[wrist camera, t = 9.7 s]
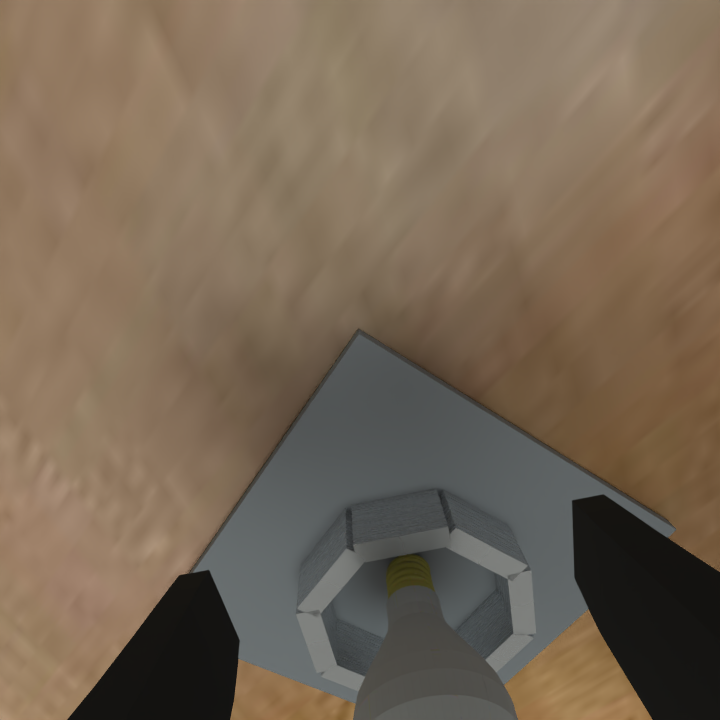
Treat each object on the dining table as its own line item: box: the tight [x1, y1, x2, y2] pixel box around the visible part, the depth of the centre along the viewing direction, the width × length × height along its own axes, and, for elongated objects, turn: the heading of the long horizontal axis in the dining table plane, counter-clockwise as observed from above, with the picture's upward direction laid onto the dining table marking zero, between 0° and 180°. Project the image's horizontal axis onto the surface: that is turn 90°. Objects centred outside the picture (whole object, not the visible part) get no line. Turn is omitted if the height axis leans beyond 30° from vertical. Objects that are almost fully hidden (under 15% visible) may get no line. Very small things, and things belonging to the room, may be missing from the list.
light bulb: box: [353, 554, 518, 720], centre depth 18 cm, size 5×5×10 cm
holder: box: [190, 329, 676, 704], centre depth 22 cm, size 18×18×3 cm
